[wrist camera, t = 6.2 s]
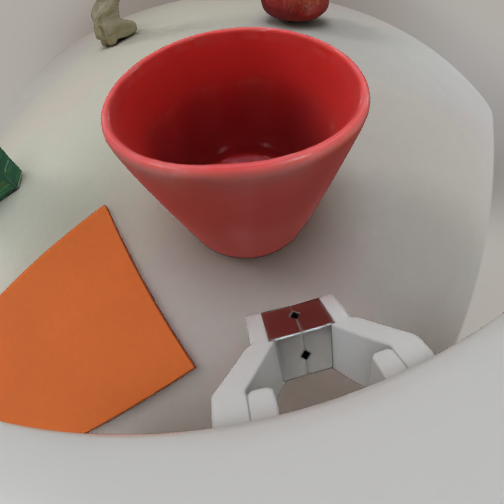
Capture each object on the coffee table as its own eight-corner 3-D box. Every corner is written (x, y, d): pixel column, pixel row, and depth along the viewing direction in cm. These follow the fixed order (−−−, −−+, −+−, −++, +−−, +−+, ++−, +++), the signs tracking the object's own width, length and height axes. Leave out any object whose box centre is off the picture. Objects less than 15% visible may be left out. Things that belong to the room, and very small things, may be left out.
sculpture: (143, 30, 35) (125, -34, 22) (112, 49, 33) (88, -20, 19) (125, 32, 37) (106, -28, 23) (96, 50, 34) (72, -12, 21)
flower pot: (176, 305, 15) (75, 217, 7) (162, 163, 20) (117, 55, 11) (354, 262, 16) (429, 145, 7) (298, 134, 20) (306, 20, 11)
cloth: (196, 367, 14) (194, 367, 14) (22, 464, 10) (19, 464, 10) (107, 207, 19) (104, 204, 18) (-24, 325, 15) (-27, 324, 15)
